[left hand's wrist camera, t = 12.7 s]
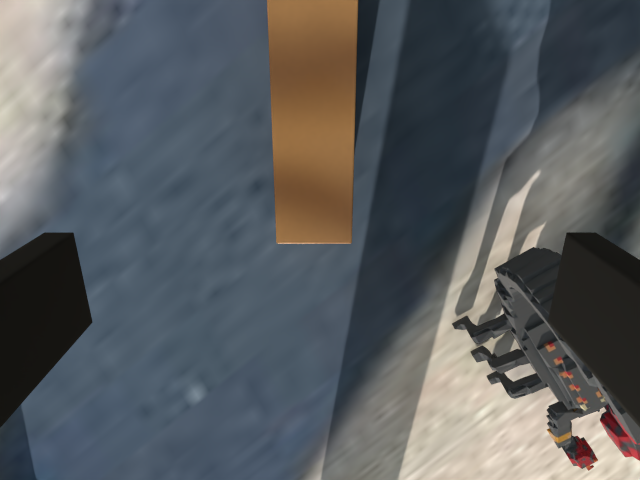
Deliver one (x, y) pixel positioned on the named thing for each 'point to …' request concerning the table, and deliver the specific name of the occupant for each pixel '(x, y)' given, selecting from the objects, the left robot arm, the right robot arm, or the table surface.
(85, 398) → the table surface
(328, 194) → the beam
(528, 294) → the toy
